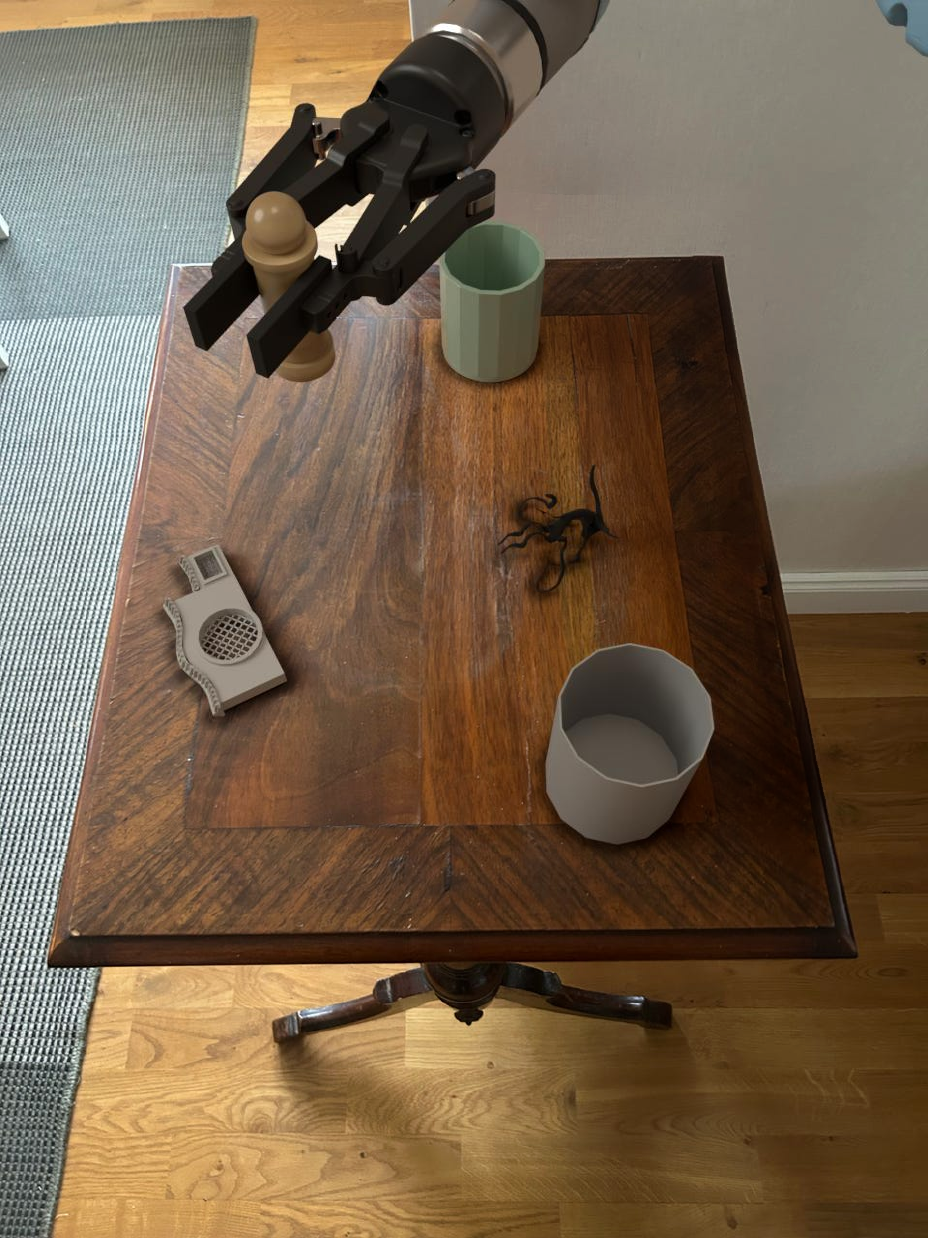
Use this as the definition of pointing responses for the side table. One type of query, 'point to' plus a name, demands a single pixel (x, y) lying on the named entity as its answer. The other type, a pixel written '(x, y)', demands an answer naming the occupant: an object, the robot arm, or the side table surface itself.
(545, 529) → the creature
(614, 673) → the cup
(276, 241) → the game piece
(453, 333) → the tumbler
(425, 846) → the side table surface
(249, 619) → the lattice window wall
